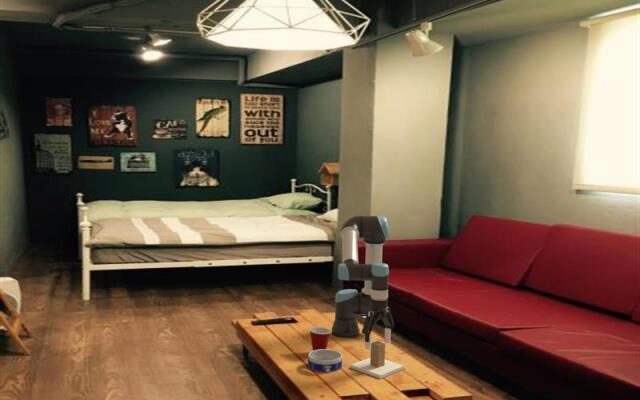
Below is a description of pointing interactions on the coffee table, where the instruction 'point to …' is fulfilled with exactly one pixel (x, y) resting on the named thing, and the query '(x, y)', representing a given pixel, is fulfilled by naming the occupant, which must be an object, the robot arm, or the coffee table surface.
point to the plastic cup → (319, 337)
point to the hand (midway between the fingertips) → (377, 345)
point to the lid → (377, 363)
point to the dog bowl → (325, 360)
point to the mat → (376, 377)
